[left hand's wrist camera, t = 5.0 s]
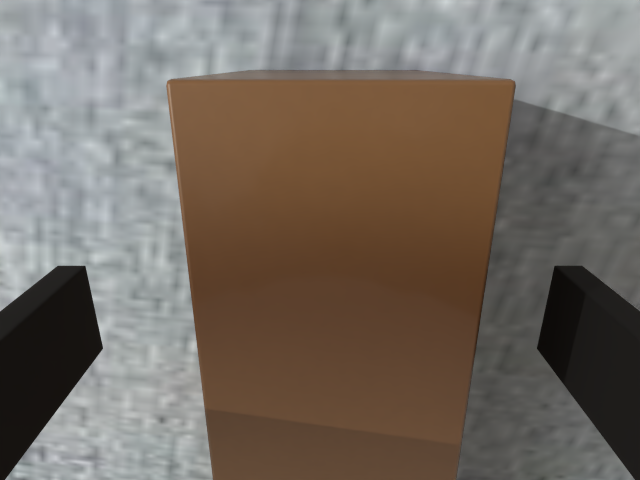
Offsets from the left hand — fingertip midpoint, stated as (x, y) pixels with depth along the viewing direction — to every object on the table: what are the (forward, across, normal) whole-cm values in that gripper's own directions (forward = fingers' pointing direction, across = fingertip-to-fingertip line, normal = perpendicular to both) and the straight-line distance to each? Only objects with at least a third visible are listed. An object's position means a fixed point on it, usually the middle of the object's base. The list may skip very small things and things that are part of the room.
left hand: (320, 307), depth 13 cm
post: (+4, 0, -26) cm, 26 cm away
